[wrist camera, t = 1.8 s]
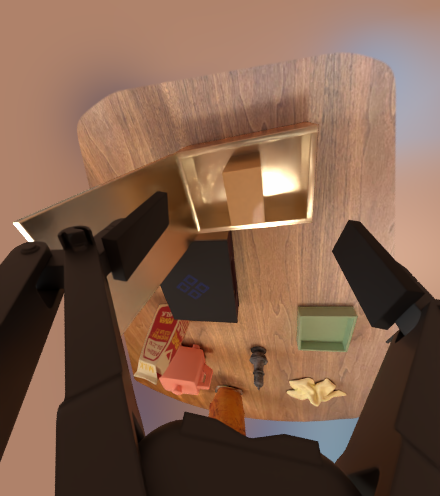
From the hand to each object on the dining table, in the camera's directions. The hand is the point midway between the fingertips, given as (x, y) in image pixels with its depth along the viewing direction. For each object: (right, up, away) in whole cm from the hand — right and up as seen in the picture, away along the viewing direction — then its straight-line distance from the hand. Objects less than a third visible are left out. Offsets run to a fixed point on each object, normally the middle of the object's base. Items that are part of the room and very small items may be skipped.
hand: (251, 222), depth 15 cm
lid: (-11, 0, +10) cm, 15 cm away
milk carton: (-17, -23, +49) cm, 57 cm away
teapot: (-15, -41, +61) cm, 75 cm away
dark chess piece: (+11, -37, +54) cm, 67 cm away
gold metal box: (+3, +11, +21) cm, 24 cm away
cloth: (+35, -57, +64) cm, 93 cm away
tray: (+27, -24, +42) cm, 55 cm away
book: (-7, -7, +36) cm, 37 cm away
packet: (+3, +10, +21) cm, 23 cm away
